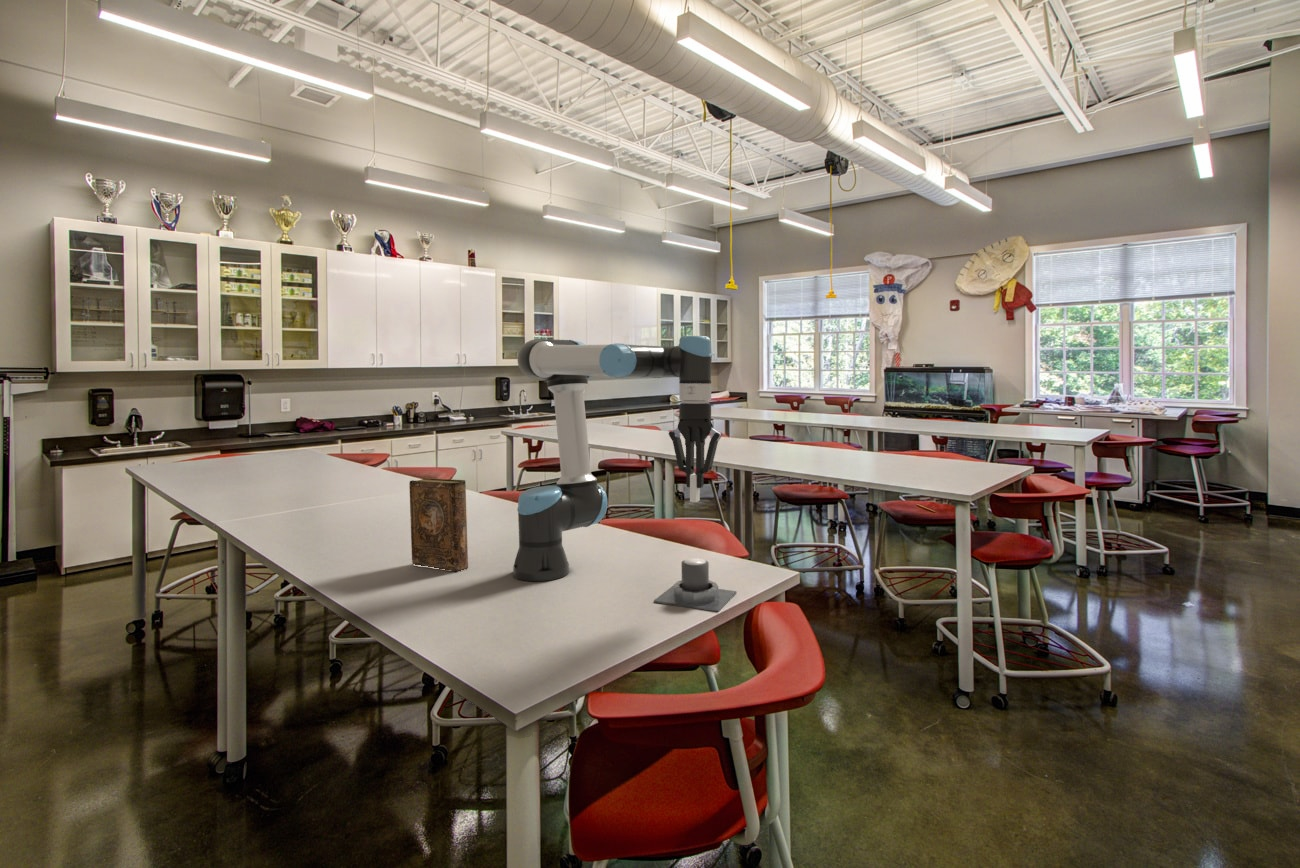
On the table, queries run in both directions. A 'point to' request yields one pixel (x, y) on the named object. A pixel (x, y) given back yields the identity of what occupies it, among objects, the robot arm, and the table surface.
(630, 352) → the robot arm
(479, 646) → the table surface
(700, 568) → the lens barrel
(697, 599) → the barrel mount
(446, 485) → the book
